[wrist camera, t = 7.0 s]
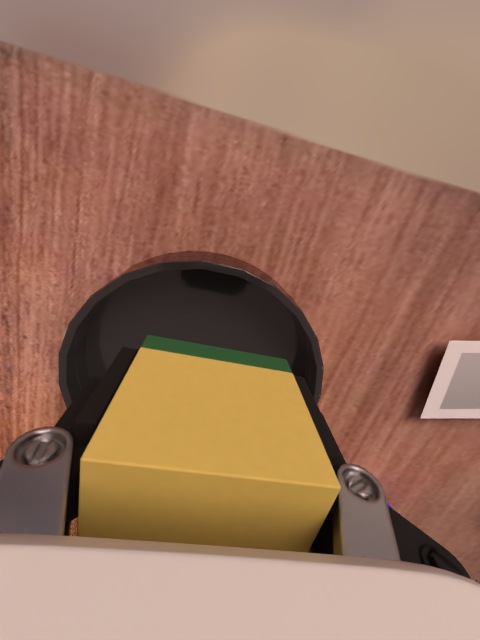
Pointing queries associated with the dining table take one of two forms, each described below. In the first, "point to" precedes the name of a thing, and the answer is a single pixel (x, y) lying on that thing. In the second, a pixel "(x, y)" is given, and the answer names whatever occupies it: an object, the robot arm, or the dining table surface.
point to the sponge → (206, 453)
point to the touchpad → (456, 383)
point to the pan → (188, 317)
